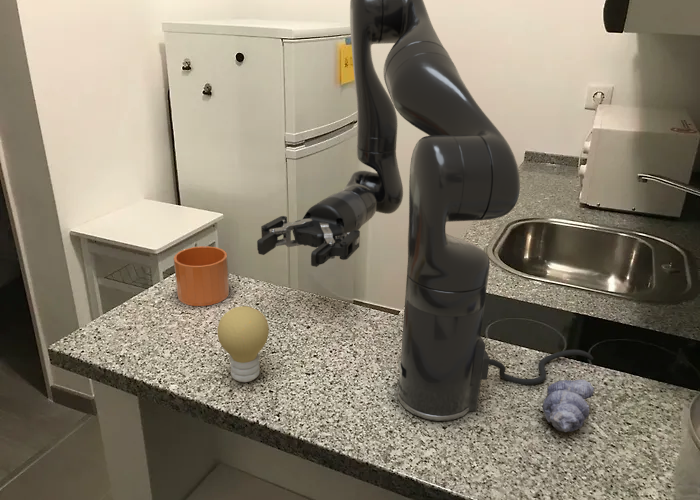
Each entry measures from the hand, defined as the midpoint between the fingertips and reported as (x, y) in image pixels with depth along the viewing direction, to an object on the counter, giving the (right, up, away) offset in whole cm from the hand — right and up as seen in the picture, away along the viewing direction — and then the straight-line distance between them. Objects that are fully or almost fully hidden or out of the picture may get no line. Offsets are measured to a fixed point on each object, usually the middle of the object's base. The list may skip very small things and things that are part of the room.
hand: (286, 254), depth 81 cm
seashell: (+35, -20, -10) cm, 42 cm away
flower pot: (-16, -7, +17) cm, 24 cm away
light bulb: (-5, -16, -4) cm, 18 cm away
